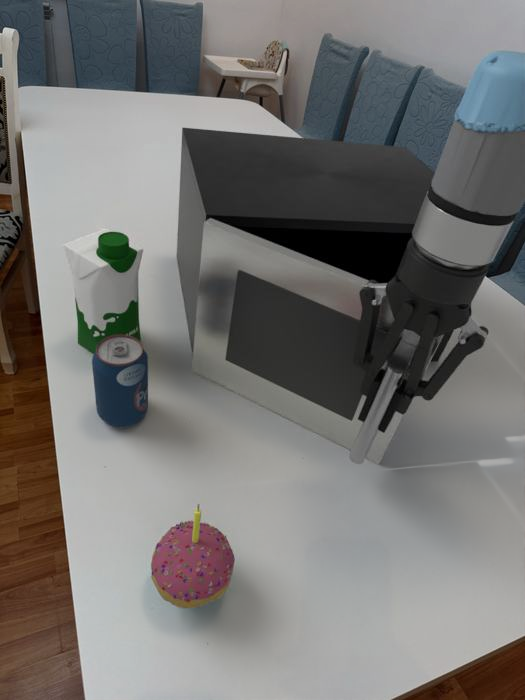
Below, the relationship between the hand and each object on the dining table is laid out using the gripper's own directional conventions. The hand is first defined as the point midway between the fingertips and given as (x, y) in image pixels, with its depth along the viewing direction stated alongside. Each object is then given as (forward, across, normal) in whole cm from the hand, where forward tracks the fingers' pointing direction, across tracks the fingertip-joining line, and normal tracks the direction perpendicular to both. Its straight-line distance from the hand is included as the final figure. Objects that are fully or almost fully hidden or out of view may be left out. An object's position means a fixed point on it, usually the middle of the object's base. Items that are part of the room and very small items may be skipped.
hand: (374, 419), depth 60 cm
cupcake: (+12, +9, +24) cm, 28 cm away
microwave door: (+11, +13, -1) cm, 17 cm away
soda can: (+12, +31, +11) cm, 35 cm away
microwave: (+12, +24, -30) cm, 40 cm away
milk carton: (+12, +43, +1) cm, 44 cm away
